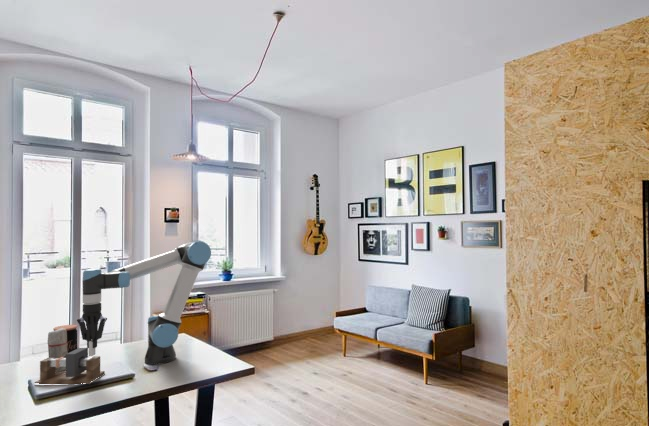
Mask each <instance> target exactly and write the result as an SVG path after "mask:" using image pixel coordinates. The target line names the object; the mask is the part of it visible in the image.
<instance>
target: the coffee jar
mask: <svg viewBox="0 0 649 426" xmlns="http://www.w3.org/2000/svg"><path fill="white" fill-rule="evenodd" d="M60 328H64V329H66V331H67V349H68V353H69V352H72V351H74V350H76V349H78V330H77V328H78V325H77V324H66V325H64V324H63V325H60V326H55V327H54V328H53V331H55V330H57V329H60Z"/></svg>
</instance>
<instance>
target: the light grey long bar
mask: <svg viewBox="0 0 649 426" xmlns="http://www.w3.org/2000/svg"><path fill="white" fill-rule="evenodd" d="M92 357H93V358H94V356H88V357H84V358H79V366H86V360H88V359H90V358H92ZM49 367H56V368H59V367H66V358H64V357H60V358H51V359H50V360H49Z"/></svg>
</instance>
